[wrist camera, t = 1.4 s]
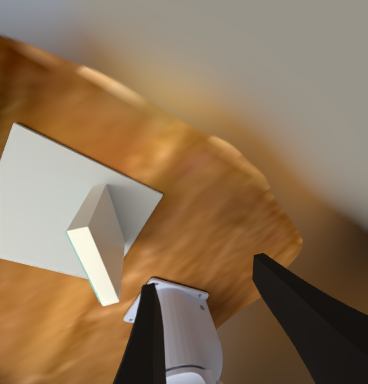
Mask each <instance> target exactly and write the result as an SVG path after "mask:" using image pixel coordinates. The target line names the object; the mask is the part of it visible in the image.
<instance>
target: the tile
mask: <svg viewBox="0 0 368 384" xmlns="http://www.w3.org/2000/svg"><path fill="white" fill-rule="evenodd" d="M65 233H66V235H67V237H68V239H69V241H70V243H71V245H72V247H73V249H74V251H75V253H76V255H77V257H78V259H79V261H80V264H81V266H82V268H83V270H84V272H85V274H86V276H87V278H88V280H89V282H90V284H91V286H92V288H93V290H94V292H95V294H96V296H97V298H98V300H99V302H100V303H102V305H103V306H106V305H109V304H113V303H117V302H119V300H120V290H121V280H122V270H123V260H124V250H125V240H124V237H123V234H122V231H121V228H120V225H119V222H118V219H117V216H116V213H115V209H114V206H113V203H112V200H111V197H110V194H109V191H108V188H107V185H106V184H103V185H98V186H93V187H92V189H91V190H90V192H89V193H88V195H87V197H86V198H85V200H84V202H83V204H82V205H81V207H80V209H79V210H78V212H77V214H76V215H75V217H74V219H73V220H72V222H71V224H70V226H69V227H68V229H67V231H66V232H65Z"/></svg>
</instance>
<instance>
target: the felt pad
mask: <svg viewBox="0 0 368 384" xmlns="http://www.w3.org/2000/svg"><path fill="white" fill-rule="evenodd" d="M103 184H106V185H107V188H108V191H109V194H110V197H111V200H112V203H113V206H114V209H115V213H116V216H117V219H118V222H119V225H120V228H121V231H122V234H123V237H124V240H125V250H124V257H125V255H126V253H127V252H128V250H129V249H130V247H131V245H132V244H133V242H134V241H135V239H136V237H137V236H138V234H139V233H140V231H141V229H142V228H143V226H144V225H145V223H146V221H147V220H148V218H149V217H150V215H151V214H152V212H153V210H154V209H155V207H156V206H157V204H158V202H159V201H160V199H161V198H162V196H163V194H162V193H160V192H158V191H156V190H154V189H152V188H150V187H148V186H146V185H144V184H142V183H140V182H138V181H136V180H134V179H132V178H130V177H127V176H125V175H123V174H121V173H119V172H117V171H115V170H113V169H111V168H109V167H107V166H105V165H103V164H101V163H99V162H97V161H95V160H93V159H91V158H88V157H86V156H84V155H82V154H80V153H78V152H76V151H74V150H72V149H70V148H68V147H66V146H64V145H62V144H60V143H58V142H56V141H54V140H51V139H49V138H47V137H45V136H43V135H41V134H39V133H37V132H35V131H33V130H31V129H29V128H27V127H25V126H23V125H21V124H19V123H14V124H13V126H12V129H11V132H10V135H9V138H8V141H7V143H6V146H5V149H4V152H3V155H2V158H1V161H0V258H1V259H6V260H10V261H14V262H18V263H23V264H27V265H31V266H35V267H39V268H44V269H48V270H52V271H56V272H61V273H65V274H69V275H73V276H77V277H82V278H86V279H88V278H87V276H86V274H85V272H84V270H83V268H82V266H81V264H80V261H79V259H78V257H77V255H76V253H75V251H74V249H73V247H72V245H71V243H70V241H69V239H68V237H67V235H66V233H65V232H66V231H67V229H68V227H69V226H70V224H71V222H72V220H73V219H74V217H75V215H76V214H77V212H78V210H79V209H80V207H81V205H82V204H83V202H84V200H85V198H86V197H87V195H88V193H89V192H90V190H91V189H92V187H93V186H98V185H103Z"/></svg>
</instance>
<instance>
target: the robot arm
mask: <svg viewBox="0 0 368 384" xmlns="http://www.w3.org/2000/svg"><path fill="white" fill-rule="evenodd" d="M252 279H253V281H254V283H255V285H256V287H257V289H258V291H259V293H260V295H261V296H262V298H263V299H264V301H265V302H266V304H267V305H268V307H269V308H270V310H271V311H272V313H273V314H274V316H275V317H276V319H277V320H278V322H279V323H280V325H281V326H282V327H283V329H284V331H285V332H286V333H287V335H288V336H289V338H290V340H291V341H292V343H293V344H294V346H295V348H296V349H297V351H298V353H299V355H300V356H301V358H302V360H303V362H304V363H305V365H306V367H307V368H308V370H309V372H310V374H311V376H312V378H313V380H314V381H315V383H316V384H368V315H366V314H364V313H362V312H360V311H358V310H356V309H354V308H352V307H349V306H348V305H346V304H344V303H342V302H340V301H338V300H337V299H335V298H333V297H331V296H329V295H327V294H326V293H324V292H322V291H320V290H319V289H317V288H316V287H314V286H312V285H311V284H309V283H307V282H306V281H304V280H303V279H301V278H299V277H298V276H296V275H295V274H293V273H292V272H290V271H289V270H287V269H286V268H284V267H283V266H282V265H280V264H279V263H277V262H276V261H274V260H273V259H271V258H270V257H269V256H267V255H266V254H264V253H261V254H257V255H254V261H253V278H252ZM208 296H209V295H208V293H207V292H204V291H200V290H196V289H193V288H189V287H185V286H182V285H178V284H175V283H171V282H167V281H164V280H160V279H157V278H151V279H150V280H149V281H148V283H147V284H146V285H143V286H142V289H141V293H140V294H139V296H138V297H137V298H136V300H135V301H134V303H133V304H132V306H131V307H130V308H129V310H128V311H127V313H126V314H125V316H124V321H126V322H132V323H134V324H133V328H132V331H131V334H130V337H129V340H128V343H127V346H126V350H125V353H124V355H123V358H122V361H121V364H120V366H119V369H118V372H117V374H116V377H115V379H114V382H113V384H223V383H222V382H221V381H218V379H219V377H220V374H221V371H222V362H223V361H222V348H221V343H220V340H219V337H218V334H217V331H216V329H215V326H214V323H213V320H212V317H211V314H210V311H209V308H208V306H207V303H206V299H207V298H208Z"/></svg>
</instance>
